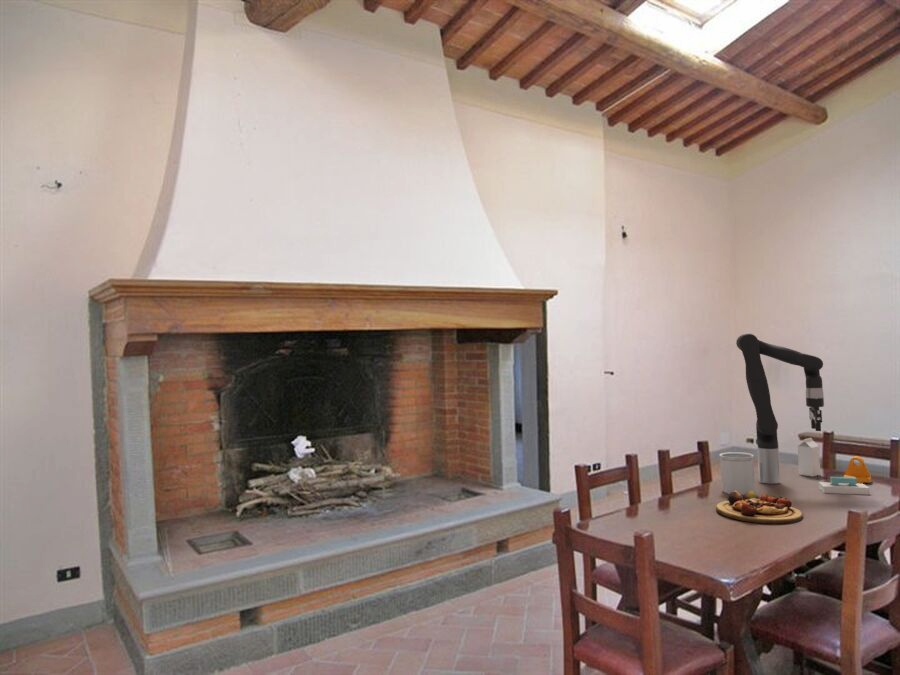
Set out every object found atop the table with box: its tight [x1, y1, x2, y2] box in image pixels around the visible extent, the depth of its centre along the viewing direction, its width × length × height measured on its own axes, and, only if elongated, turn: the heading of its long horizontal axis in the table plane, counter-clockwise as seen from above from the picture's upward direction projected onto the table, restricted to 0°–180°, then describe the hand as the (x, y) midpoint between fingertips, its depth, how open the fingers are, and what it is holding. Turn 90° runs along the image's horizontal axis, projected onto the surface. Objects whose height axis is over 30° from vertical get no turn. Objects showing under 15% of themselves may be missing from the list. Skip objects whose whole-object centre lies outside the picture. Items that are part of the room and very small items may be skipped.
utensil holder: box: [719, 451, 756, 496], centre depth 288 cm, size 15×15×18 cm
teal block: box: [829, 476, 857, 486], centre depth 282 cm, size 10×3×6 cm, turn 72°
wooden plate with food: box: [715, 490, 804, 525], centre depth 251 cm, size 32×32×8 cm
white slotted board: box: [818, 481, 871, 496], centre depth 282 cm, size 18×9×3 cm, turn 71°
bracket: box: [842, 455, 872, 484], centre depth 300 cm, size 11×7×12 cm, turn 50°
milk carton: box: [797, 437, 821, 477], centre depth 318 cm, size 7×7×19 cm
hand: (816, 429), depth 300 cm, fingers open, 8 cm apart
